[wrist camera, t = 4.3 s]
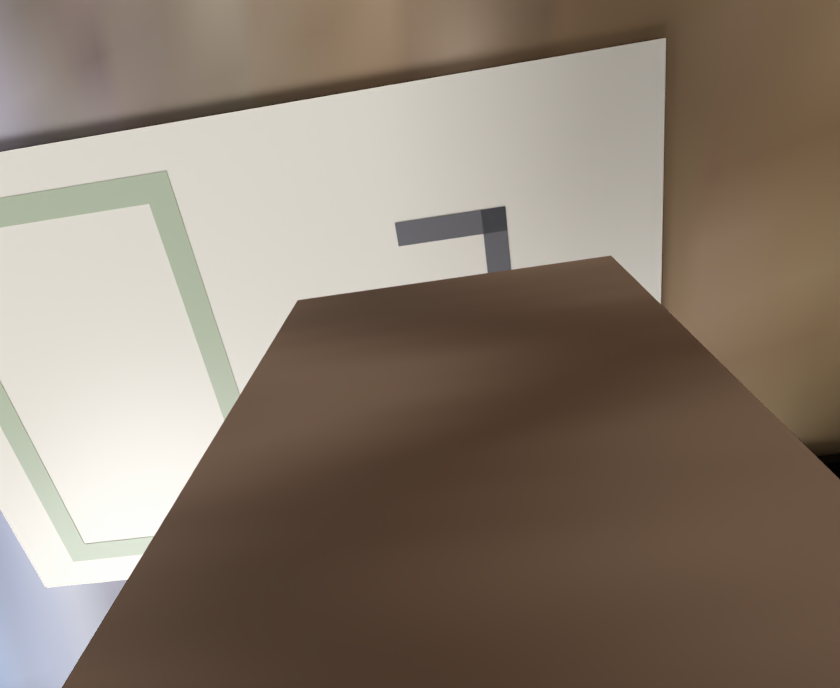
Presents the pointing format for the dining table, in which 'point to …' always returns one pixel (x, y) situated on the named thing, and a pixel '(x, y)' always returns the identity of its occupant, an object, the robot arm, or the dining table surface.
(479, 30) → the dining table surface
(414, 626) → the walnut block
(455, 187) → the white flat sheet
